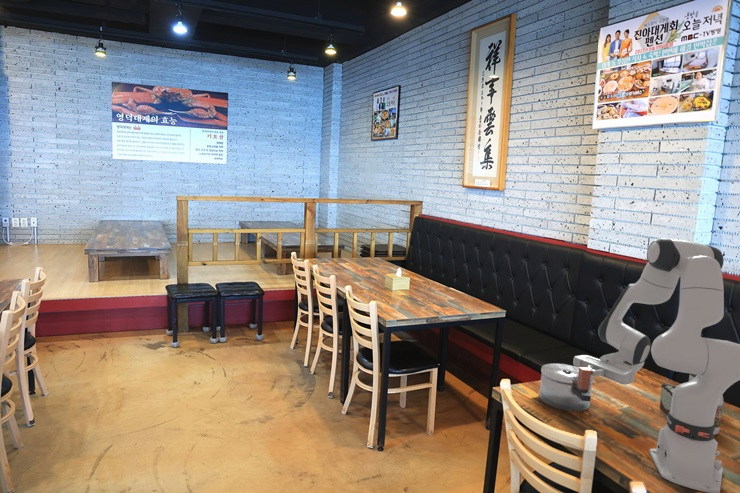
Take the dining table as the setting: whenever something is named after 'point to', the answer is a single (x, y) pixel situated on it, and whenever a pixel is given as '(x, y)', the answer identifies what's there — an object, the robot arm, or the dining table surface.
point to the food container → (666, 397)
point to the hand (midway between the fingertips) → (589, 372)
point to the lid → (569, 375)
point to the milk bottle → (718, 415)
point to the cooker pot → (563, 395)
